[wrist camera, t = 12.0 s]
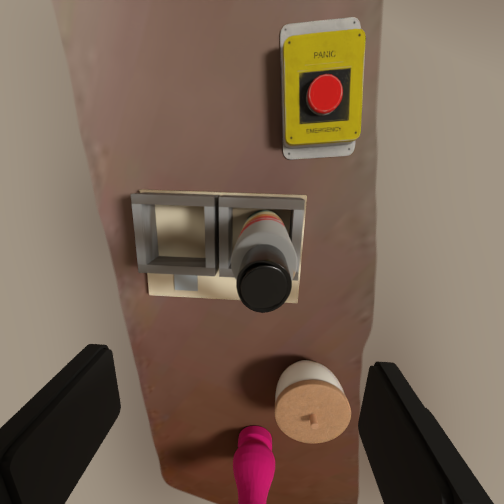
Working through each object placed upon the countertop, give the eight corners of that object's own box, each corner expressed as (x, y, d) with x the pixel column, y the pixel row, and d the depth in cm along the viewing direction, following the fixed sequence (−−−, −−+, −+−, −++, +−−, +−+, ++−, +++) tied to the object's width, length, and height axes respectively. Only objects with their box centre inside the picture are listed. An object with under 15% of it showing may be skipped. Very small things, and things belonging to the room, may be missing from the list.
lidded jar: (341, 395, 44) (360, 451, 35) (280, 403, 46) (283, 459, 37) (331, 343, 42) (349, 389, 33) (267, 353, 43) (267, 400, 34)
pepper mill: (250, 457, 50) (239, 632, 30) (228, 432, 48) (202, 600, 29) (281, 443, 48) (291, 618, 29) (260, 417, 47) (255, 584, 28)
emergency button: (285, 158, 30) (281, 3, 26) (282, 160, 35) (279, 27, 31) (365, 152, 30) (374, -7, 26) (353, 155, 34) (359, 19, 30)
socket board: (143, 189, 36) (124, 191, 32) (305, 194, 35) (311, 197, 30) (152, 292, 41) (136, 307, 36) (296, 300, 40) (300, 316, 35)
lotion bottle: (250, 203, 35) (233, 236, 16) (289, 216, 35) (320, 262, 16) (239, 242, 37) (211, 314, 17) (276, 253, 37) (291, 337, 18)
